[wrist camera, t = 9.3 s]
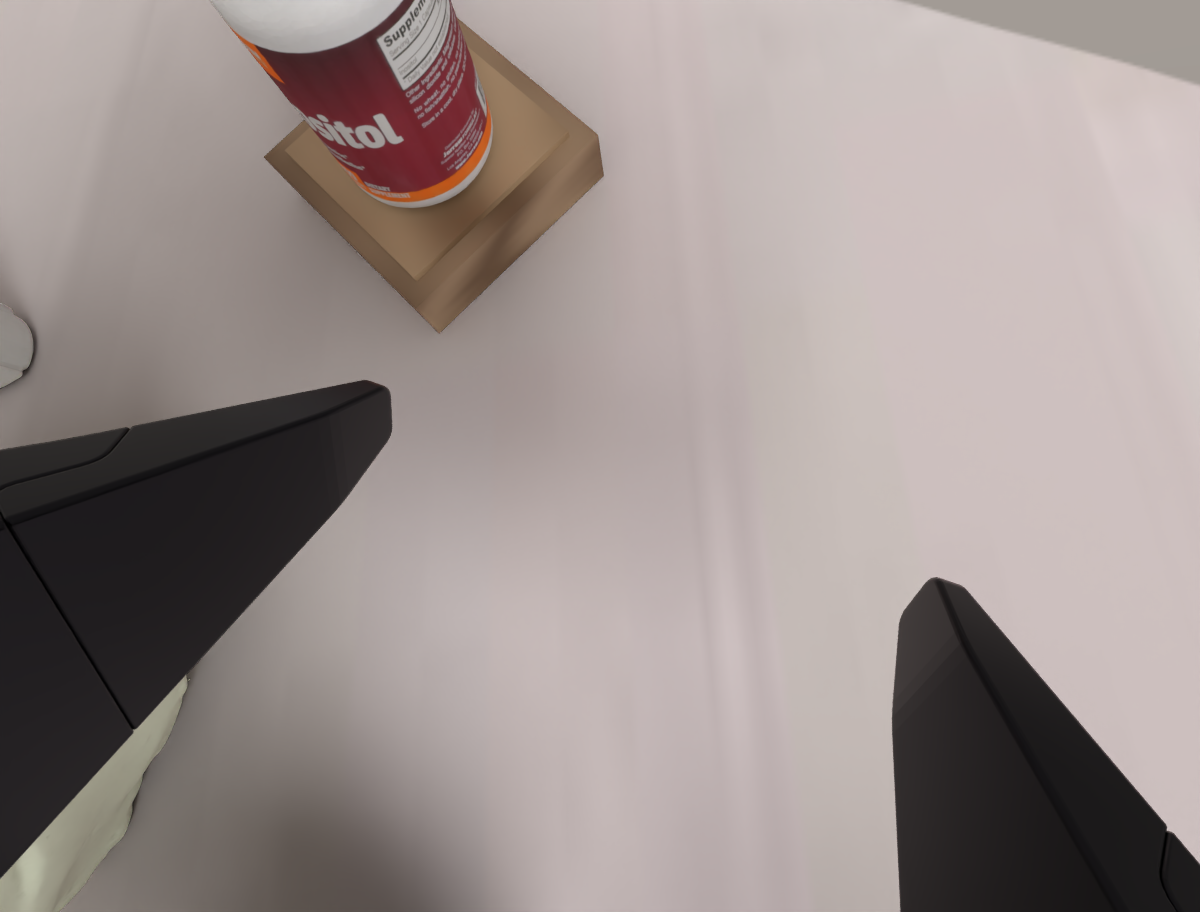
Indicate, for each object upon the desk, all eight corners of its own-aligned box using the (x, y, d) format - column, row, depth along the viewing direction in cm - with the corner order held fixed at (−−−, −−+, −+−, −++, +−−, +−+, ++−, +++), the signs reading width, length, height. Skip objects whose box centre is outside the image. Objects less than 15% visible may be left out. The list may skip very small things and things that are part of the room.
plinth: (439, 333, 25) (412, 305, 22) (299, 193, 27) (258, 152, 24) (603, 175, 25) (597, 129, 23) (455, 49, 27) (432, -7, 25)
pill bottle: (321, 180, 24) (35, -140, 13) (398, 58, 24) (189, -344, 13) (449, 239, 22) (256, -56, 12) (525, 110, 23) (410, -282, 12)
